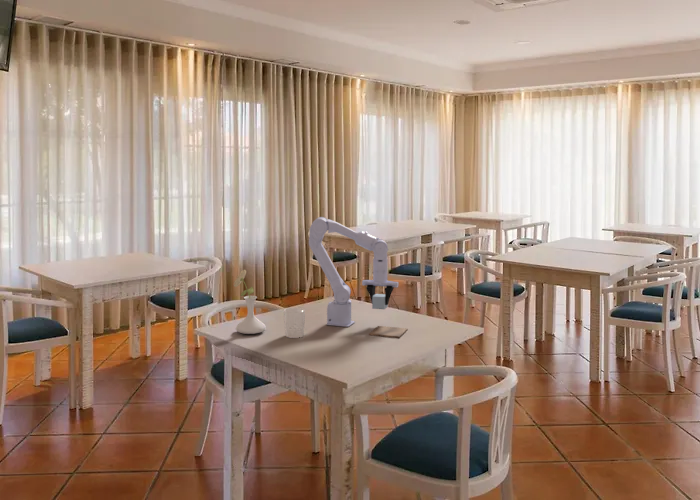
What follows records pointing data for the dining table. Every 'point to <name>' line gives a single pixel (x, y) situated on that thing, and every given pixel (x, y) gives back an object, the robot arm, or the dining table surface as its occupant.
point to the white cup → (294, 322)
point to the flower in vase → (250, 322)
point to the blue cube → (378, 301)
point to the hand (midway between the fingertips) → (380, 304)
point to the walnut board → (388, 331)
